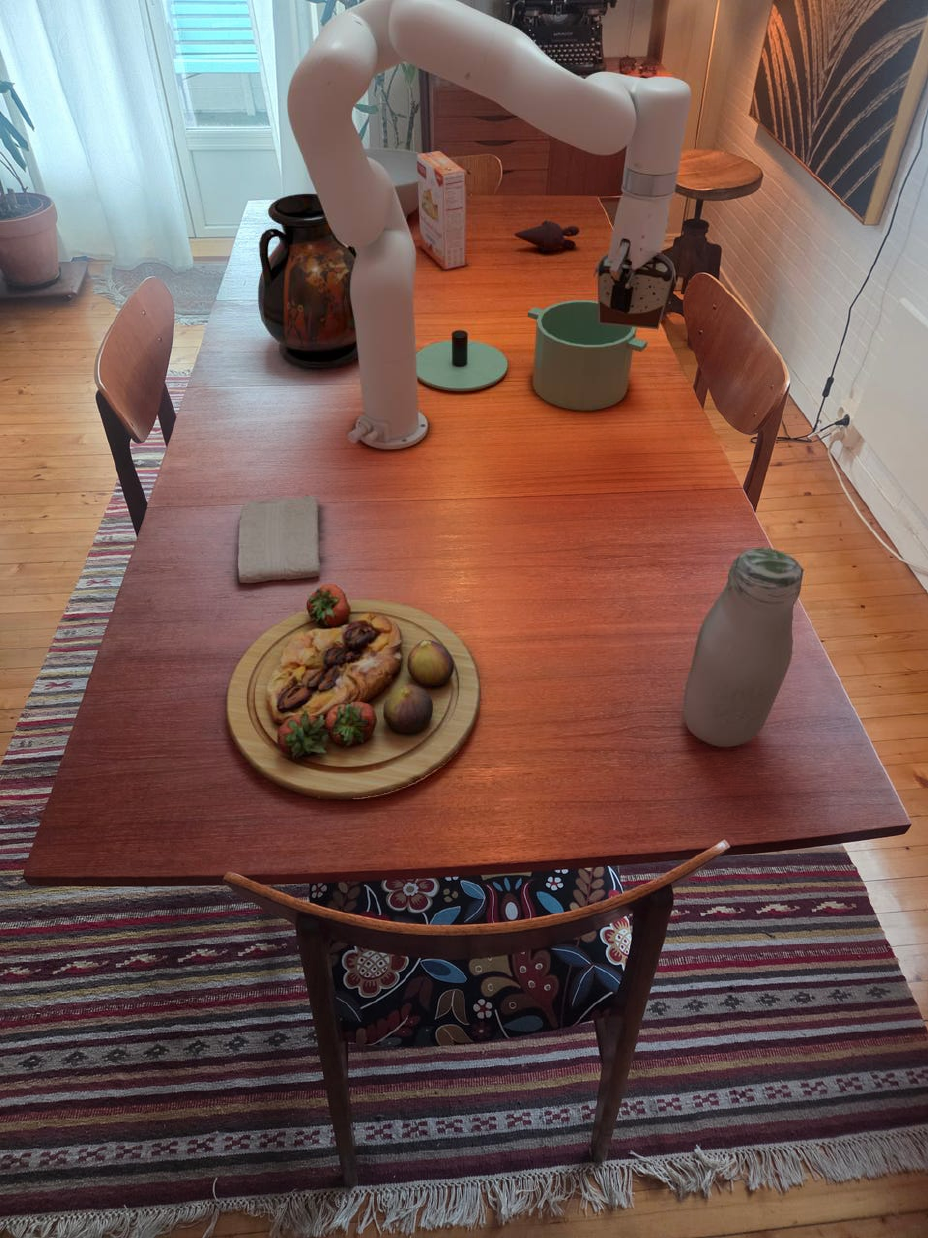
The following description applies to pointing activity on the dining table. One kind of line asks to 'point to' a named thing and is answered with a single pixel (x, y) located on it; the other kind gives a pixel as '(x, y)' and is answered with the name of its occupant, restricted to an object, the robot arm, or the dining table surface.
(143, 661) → the dining table surface
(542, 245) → the icecream
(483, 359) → the lid
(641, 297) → the food container
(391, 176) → the decorative bowl
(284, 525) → the washcloth
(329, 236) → the amphora vase
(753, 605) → the glass bottle
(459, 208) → the cracker box
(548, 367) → the pot
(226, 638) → the dining table surface
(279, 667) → the wooden plate
